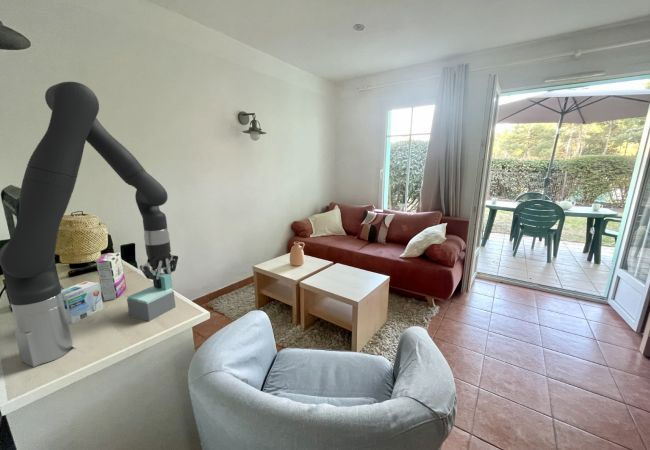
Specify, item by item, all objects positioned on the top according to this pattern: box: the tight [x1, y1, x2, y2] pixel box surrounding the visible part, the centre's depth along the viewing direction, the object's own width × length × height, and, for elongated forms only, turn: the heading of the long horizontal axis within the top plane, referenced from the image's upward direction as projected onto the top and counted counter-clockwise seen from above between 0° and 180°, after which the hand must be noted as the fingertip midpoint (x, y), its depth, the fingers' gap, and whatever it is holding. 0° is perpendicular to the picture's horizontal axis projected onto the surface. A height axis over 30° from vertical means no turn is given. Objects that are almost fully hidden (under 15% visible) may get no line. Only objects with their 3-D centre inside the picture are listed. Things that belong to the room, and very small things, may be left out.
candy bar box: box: [95, 252, 127, 302], centre depth 107 cm, size 11×5×16 cm, turn 22°
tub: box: [126, 291, 176, 322], centre depth 94 cm, size 10×10×7 cm
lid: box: [127, 272, 174, 304], centre depth 93 cm, size 11×10×7 cm
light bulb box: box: [61, 281, 104, 325], centre depth 91 cm, size 11×7×11 cm, turn 168°
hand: (163, 285), depth 97 cm, fingers open, 3 cm apart
